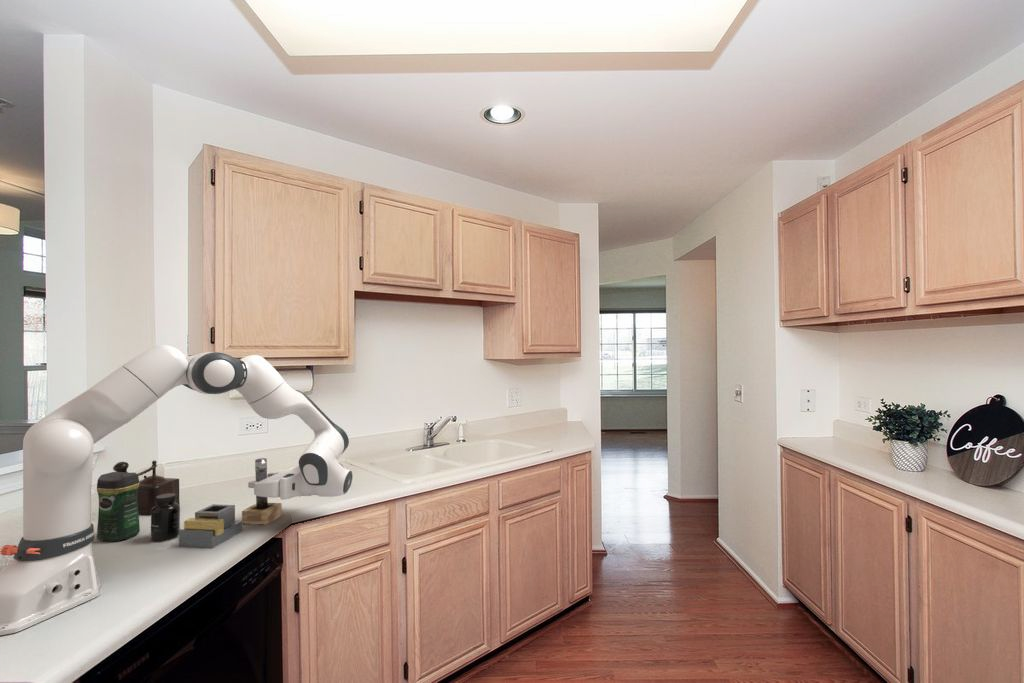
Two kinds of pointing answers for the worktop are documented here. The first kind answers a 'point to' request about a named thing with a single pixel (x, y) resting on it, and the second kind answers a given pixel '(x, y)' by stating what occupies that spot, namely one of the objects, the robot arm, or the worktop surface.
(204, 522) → the yellow rectangular block
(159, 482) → the manual coffee grinder
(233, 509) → the socket
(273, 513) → the open box
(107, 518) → the coffee jar
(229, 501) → the worktop surface
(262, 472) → the grey cylinder
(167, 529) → the supplement bottle
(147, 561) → the worktop surface
